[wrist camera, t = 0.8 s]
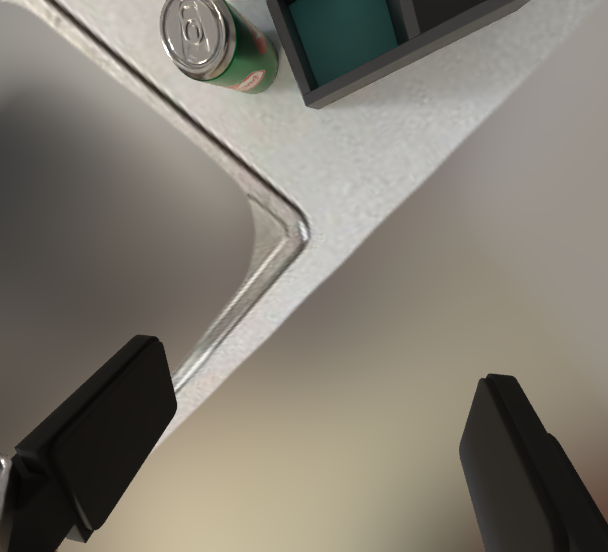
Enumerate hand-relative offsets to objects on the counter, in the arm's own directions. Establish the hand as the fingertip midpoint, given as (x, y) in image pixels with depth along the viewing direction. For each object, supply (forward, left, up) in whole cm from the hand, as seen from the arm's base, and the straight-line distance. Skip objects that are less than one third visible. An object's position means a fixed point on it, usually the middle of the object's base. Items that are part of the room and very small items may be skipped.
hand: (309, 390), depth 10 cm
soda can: (-15, -4, -28) cm, 32 cm away
